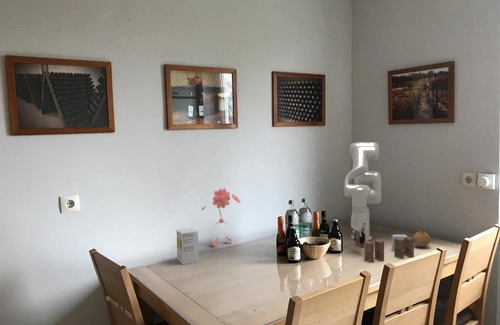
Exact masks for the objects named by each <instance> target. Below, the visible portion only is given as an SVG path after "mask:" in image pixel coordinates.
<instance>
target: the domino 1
mask: <svg viewBox="0 0 500 325" xmlns="http://www.w3.org/2000/svg"><path fill="white" fill-rule="evenodd" d="M362 230H363V229H362ZM362 233H363V232H362ZM359 236H360V231H357V230H355V241H354V242H355V244H354V245H355V247H357V248H359V249H365V243H362V244H360V241H359Z"/></svg>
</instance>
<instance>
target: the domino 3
mask: <svg viewBox="0 0 500 325" xmlns="http://www.w3.org/2000/svg"><path fill="white" fill-rule="evenodd" d="M374 260H377V261H378V262H385V242H384V240H380V239H374Z"/></svg>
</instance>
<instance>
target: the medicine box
mask: <svg viewBox="0 0 500 325" xmlns="http://www.w3.org/2000/svg"><path fill="white" fill-rule="evenodd" d="M404 237H408V235H407V234H391V250H392V252H394V238H401V239H403V240H404Z"/></svg>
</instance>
